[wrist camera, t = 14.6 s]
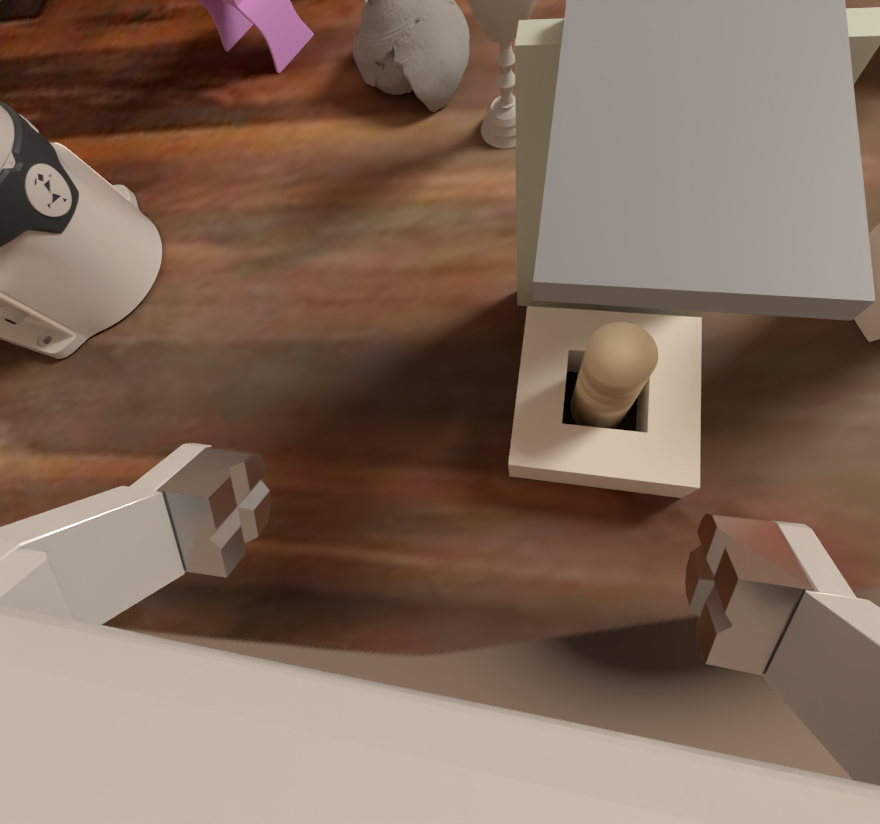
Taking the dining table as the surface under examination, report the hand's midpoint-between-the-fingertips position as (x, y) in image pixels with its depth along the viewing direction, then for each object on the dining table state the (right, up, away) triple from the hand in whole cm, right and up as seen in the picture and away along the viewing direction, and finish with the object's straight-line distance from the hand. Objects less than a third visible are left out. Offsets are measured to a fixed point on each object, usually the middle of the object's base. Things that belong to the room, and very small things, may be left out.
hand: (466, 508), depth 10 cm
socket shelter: (+12, +4, +30) cm, 32 cm away
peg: (+11, +2, +30) cm, 32 cm away
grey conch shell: (-3, +36, +44) cm, 57 cm away
